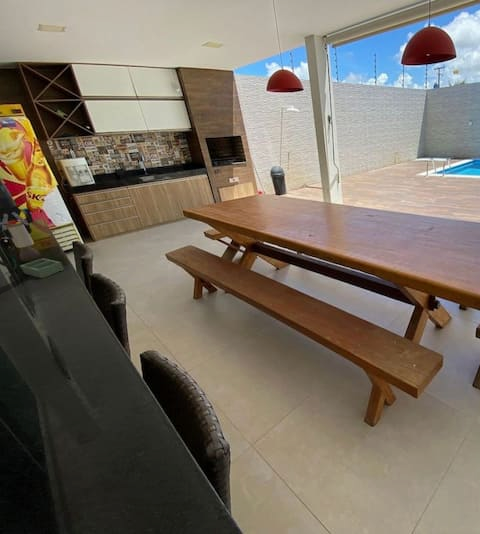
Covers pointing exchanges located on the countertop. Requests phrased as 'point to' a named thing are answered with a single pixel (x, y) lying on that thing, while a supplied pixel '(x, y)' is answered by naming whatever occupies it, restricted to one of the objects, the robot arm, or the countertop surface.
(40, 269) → the holder
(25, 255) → the vase
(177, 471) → the countertop surface
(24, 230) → the beige rectangular block
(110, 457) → the countertop surface
